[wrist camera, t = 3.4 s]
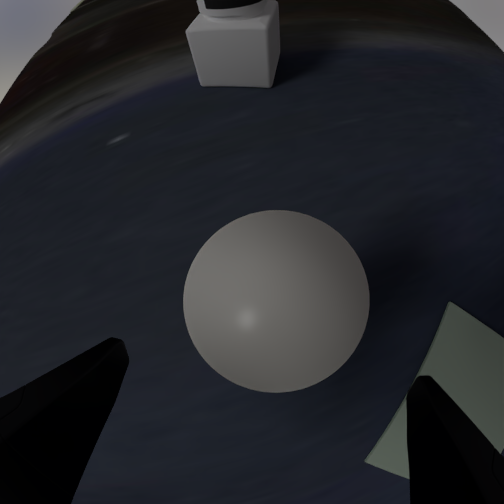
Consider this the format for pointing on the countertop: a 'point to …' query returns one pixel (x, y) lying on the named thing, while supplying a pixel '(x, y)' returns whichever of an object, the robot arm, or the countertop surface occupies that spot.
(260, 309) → the grey rounded post
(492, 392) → the mat
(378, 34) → the countertop surface
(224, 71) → the medicine bottle
